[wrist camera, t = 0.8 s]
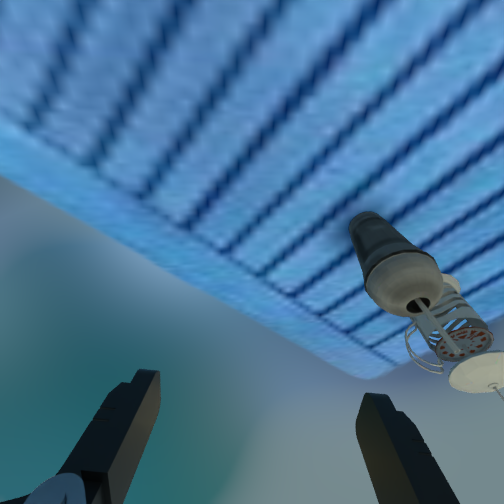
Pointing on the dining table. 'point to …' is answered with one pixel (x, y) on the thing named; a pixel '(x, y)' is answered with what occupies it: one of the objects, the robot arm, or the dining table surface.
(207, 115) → the dining table surface
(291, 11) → the dining table surface
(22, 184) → the dining table surface
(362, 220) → the beverage cup
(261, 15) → the dining table surface
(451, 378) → the french press
